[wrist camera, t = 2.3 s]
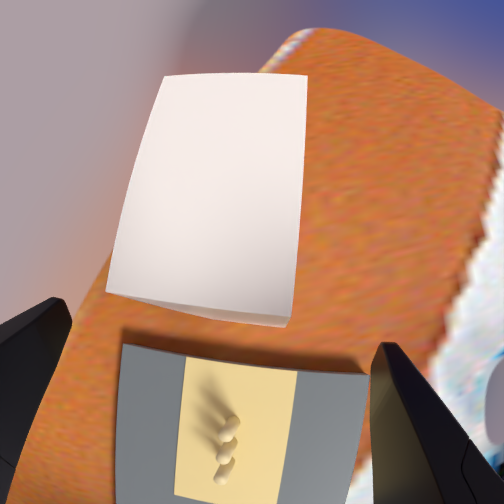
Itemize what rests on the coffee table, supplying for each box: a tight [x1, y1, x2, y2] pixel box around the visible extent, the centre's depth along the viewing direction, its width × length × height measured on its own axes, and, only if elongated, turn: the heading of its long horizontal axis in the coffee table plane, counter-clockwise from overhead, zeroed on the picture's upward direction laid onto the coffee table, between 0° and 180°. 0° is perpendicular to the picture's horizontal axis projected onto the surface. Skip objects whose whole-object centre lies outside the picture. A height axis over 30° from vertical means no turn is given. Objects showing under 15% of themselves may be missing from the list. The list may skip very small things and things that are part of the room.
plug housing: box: [106, 73, 307, 328], centre depth 13 cm, size 6×4×12 cm, turn 173°
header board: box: [115, 343, 370, 504], centre depth 14 cm, size 15×14×4 cm
